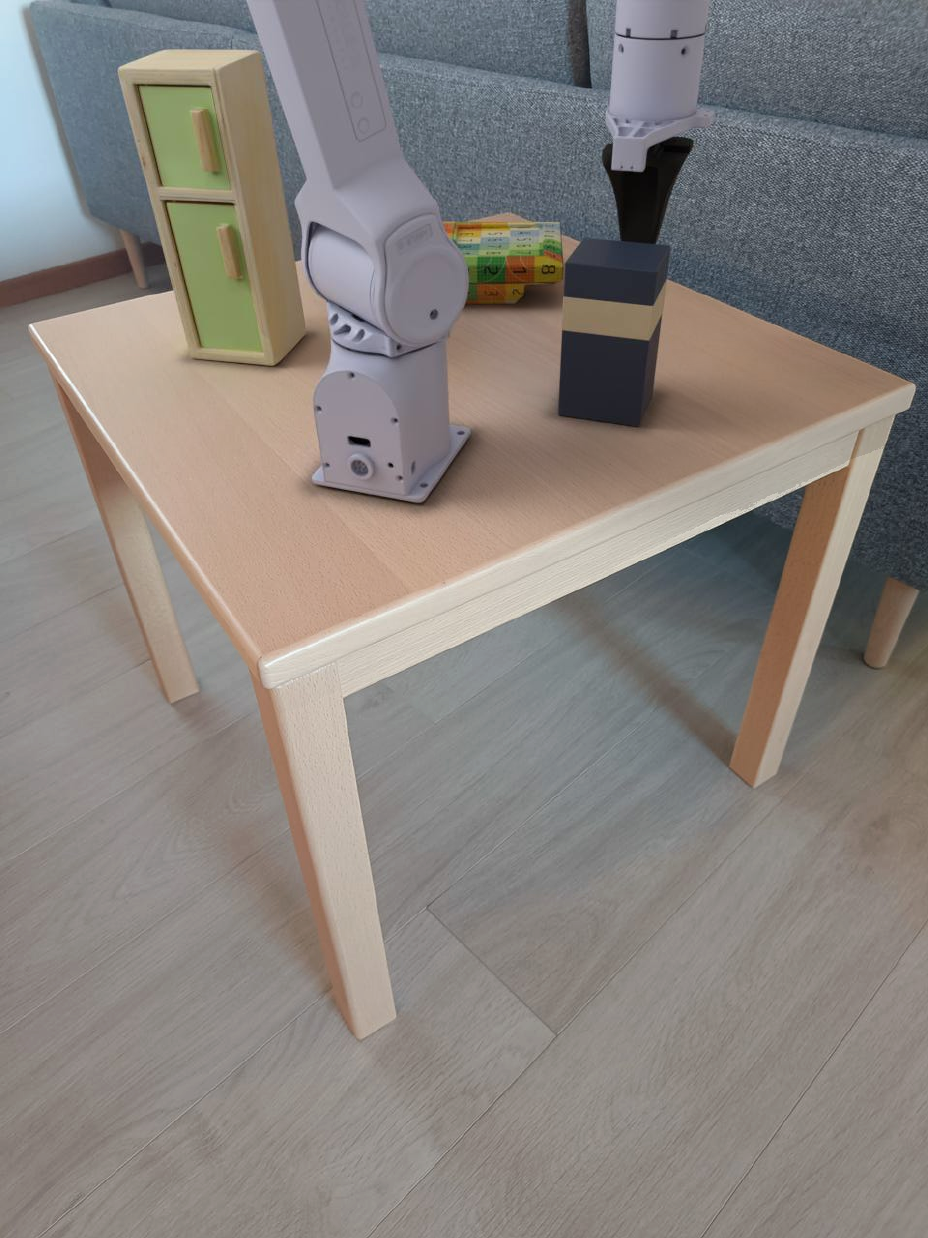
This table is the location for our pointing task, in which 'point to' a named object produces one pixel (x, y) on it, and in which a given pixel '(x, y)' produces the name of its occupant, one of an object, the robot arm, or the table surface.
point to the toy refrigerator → (217, 200)
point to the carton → (611, 329)
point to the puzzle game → (507, 257)
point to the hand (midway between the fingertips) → (638, 251)
